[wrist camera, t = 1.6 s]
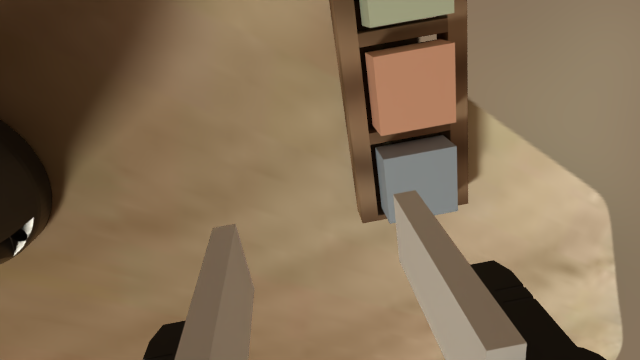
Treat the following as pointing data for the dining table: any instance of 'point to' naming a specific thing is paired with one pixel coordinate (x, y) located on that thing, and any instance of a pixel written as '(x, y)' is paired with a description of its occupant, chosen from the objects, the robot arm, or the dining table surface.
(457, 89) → the button board
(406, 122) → the cap terracotta
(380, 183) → the cap slate
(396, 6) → the cap sage
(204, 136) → the dining table surface
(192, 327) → the robot arm
